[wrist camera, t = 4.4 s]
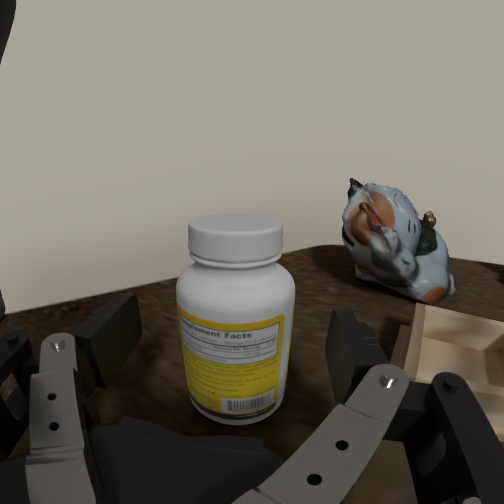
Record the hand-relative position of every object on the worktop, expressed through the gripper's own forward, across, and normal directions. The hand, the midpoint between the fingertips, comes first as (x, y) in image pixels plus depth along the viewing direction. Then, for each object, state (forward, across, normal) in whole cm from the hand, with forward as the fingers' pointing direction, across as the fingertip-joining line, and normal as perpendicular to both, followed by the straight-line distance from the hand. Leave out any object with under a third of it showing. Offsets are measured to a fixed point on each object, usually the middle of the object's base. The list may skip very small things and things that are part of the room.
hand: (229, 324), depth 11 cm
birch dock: (+2, -15, +6) cm, 16 cm away
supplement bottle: (+2, 0, +6) cm, 7 cm away
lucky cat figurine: (+19, -16, +6) cm, 26 cm away
